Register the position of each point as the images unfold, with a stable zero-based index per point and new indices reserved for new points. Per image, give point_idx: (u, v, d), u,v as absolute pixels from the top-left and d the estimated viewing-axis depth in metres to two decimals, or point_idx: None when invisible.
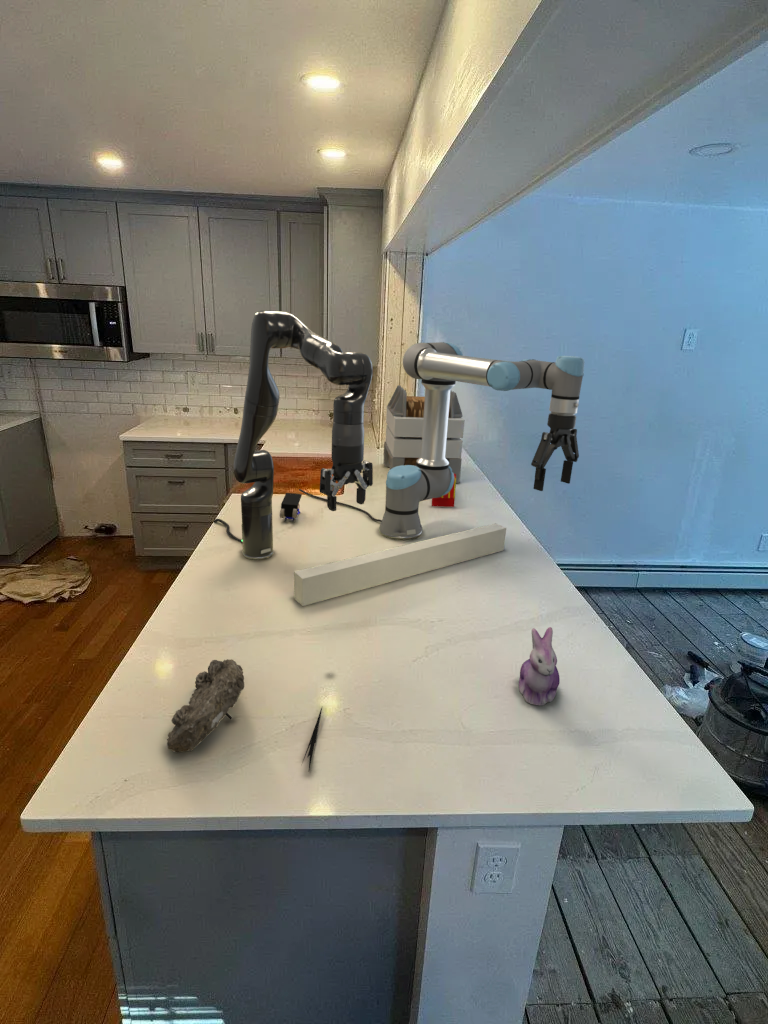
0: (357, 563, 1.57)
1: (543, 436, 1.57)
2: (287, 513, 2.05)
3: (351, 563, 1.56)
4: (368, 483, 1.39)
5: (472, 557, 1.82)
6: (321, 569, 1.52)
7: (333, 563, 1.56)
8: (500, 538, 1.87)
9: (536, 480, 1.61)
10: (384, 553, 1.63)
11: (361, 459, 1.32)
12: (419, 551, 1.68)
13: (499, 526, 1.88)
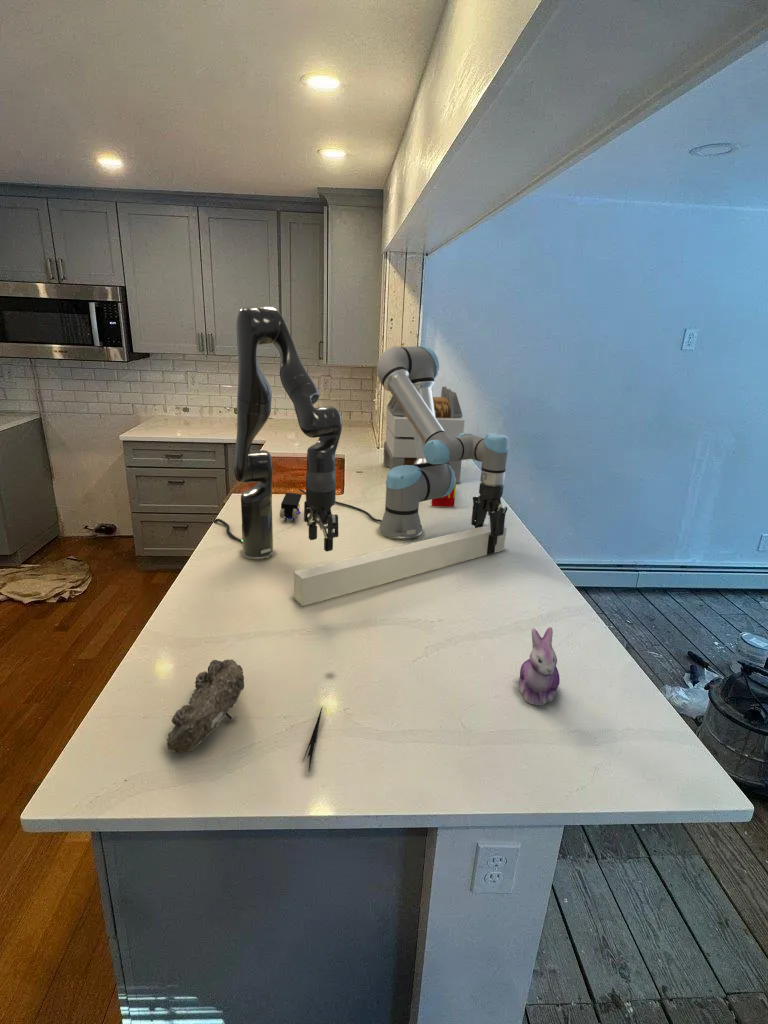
0: (357, 563, 1.57)
1: None
2: (287, 513, 2.05)
3: (351, 563, 1.56)
4: None
5: (472, 557, 1.82)
6: (321, 569, 1.52)
7: (333, 563, 1.56)
8: (500, 538, 1.87)
9: None
10: (384, 553, 1.63)
11: None
12: (419, 551, 1.68)
13: None
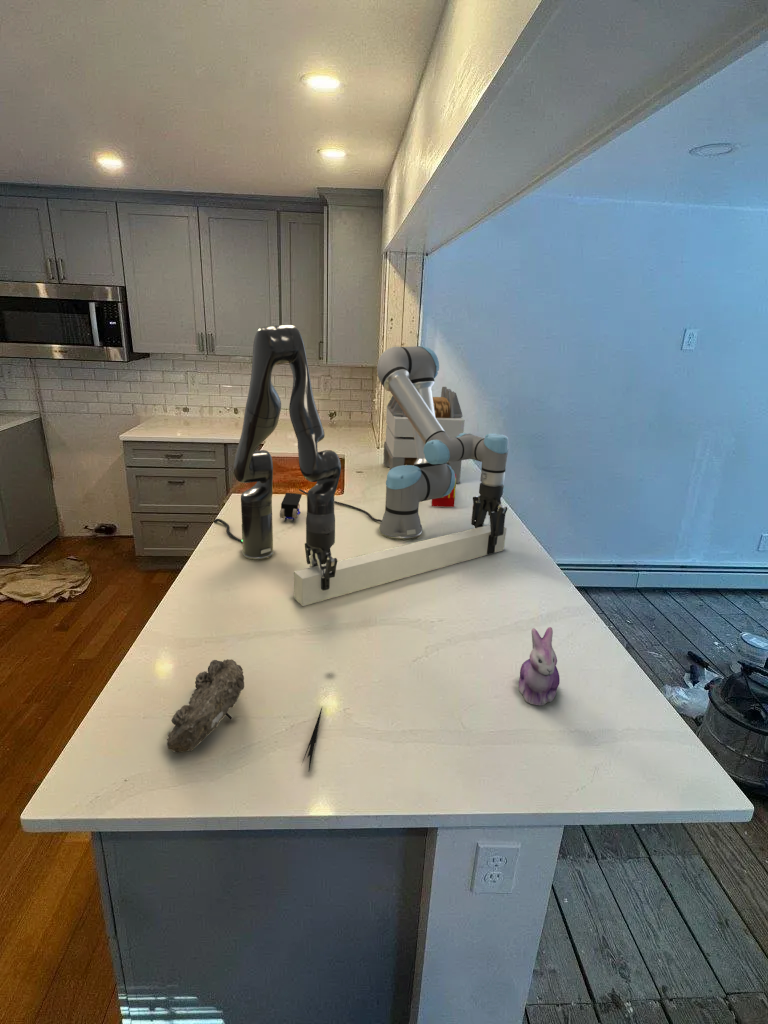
0: (357, 563, 1.57)
1: None
2: (287, 513, 2.05)
3: (351, 563, 1.56)
4: None
5: (472, 557, 1.82)
6: None
7: None
8: (500, 538, 1.87)
9: None
10: (384, 553, 1.63)
11: None
12: (419, 551, 1.68)
13: None
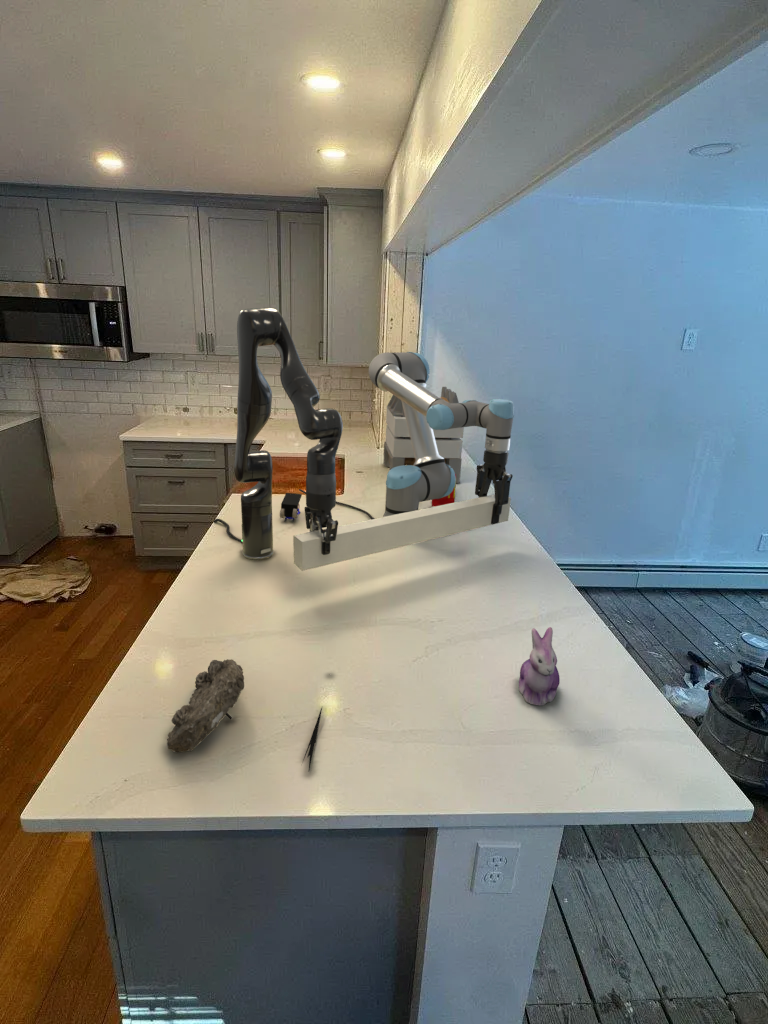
0: (359, 528, 1.52)
1: None
2: (287, 513, 2.05)
3: (353, 528, 1.51)
4: None
5: (476, 527, 1.77)
6: None
7: None
8: (505, 508, 1.83)
9: None
10: (386, 519, 1.59)
11: None
12: (422, 517, 1.63)
13: None
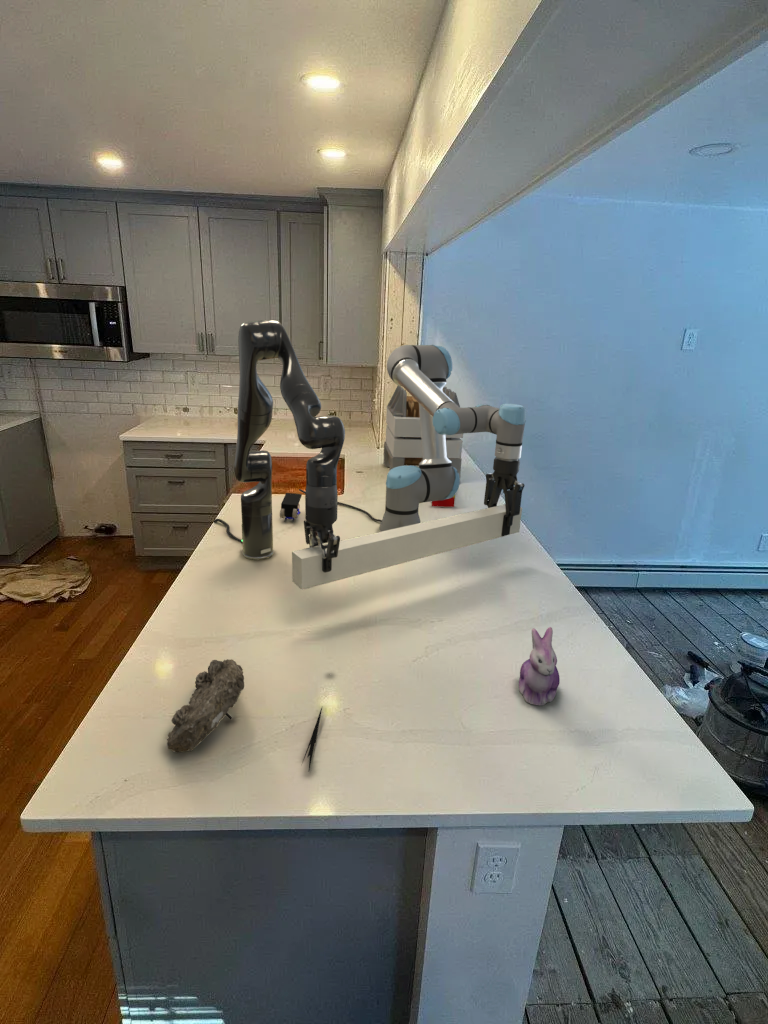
0: (362, 543, 1.42)
1: None
2: (287, 513, 2.05)
3: (355, 543, 1.41)
4: None
5: (486, 539, 1.67)
6: None
7: None
8: (516, 518, 1.73)
9: None
10: (391, 533, 1.49)
11: None
12: (429, 530, 1.53)
13: None
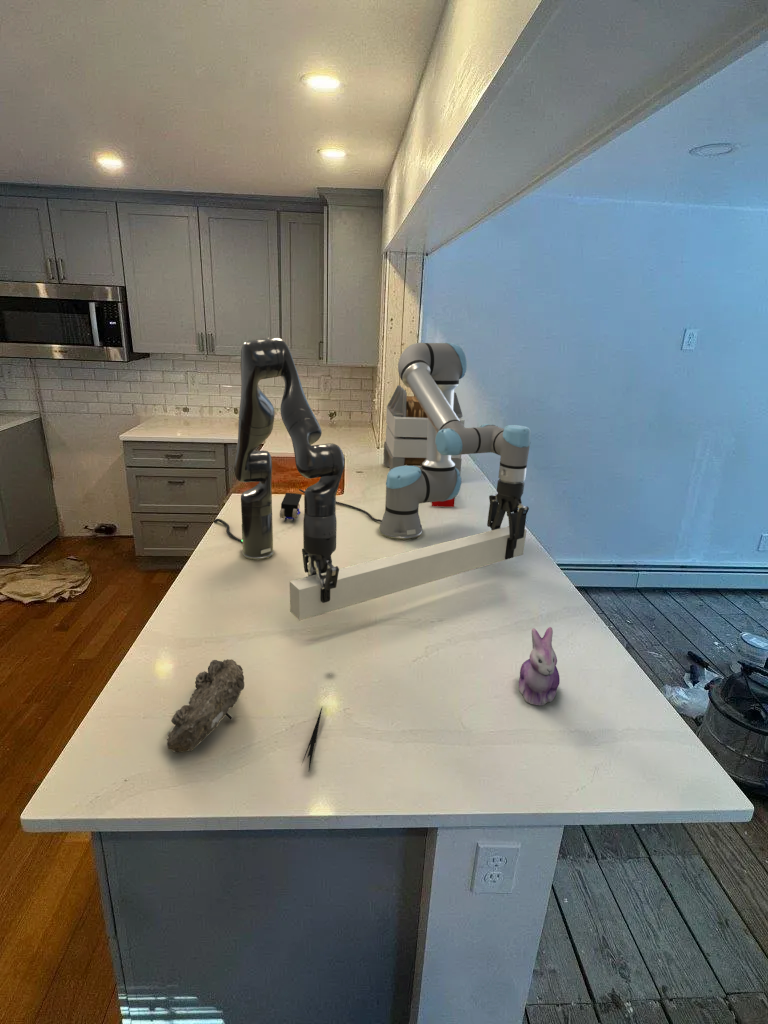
0: (362, 571, 1.38)
1: None
2: (287, 513, 2.05)
3: (355, 571, 1.38)
4: None
5: (489, 563, 1.64)
6: None
7: None
8: (520, 541, 1.69)
9: None
10: (392, 560, 1.45)
11: None
12: (431, 556, 1.49)
13: None
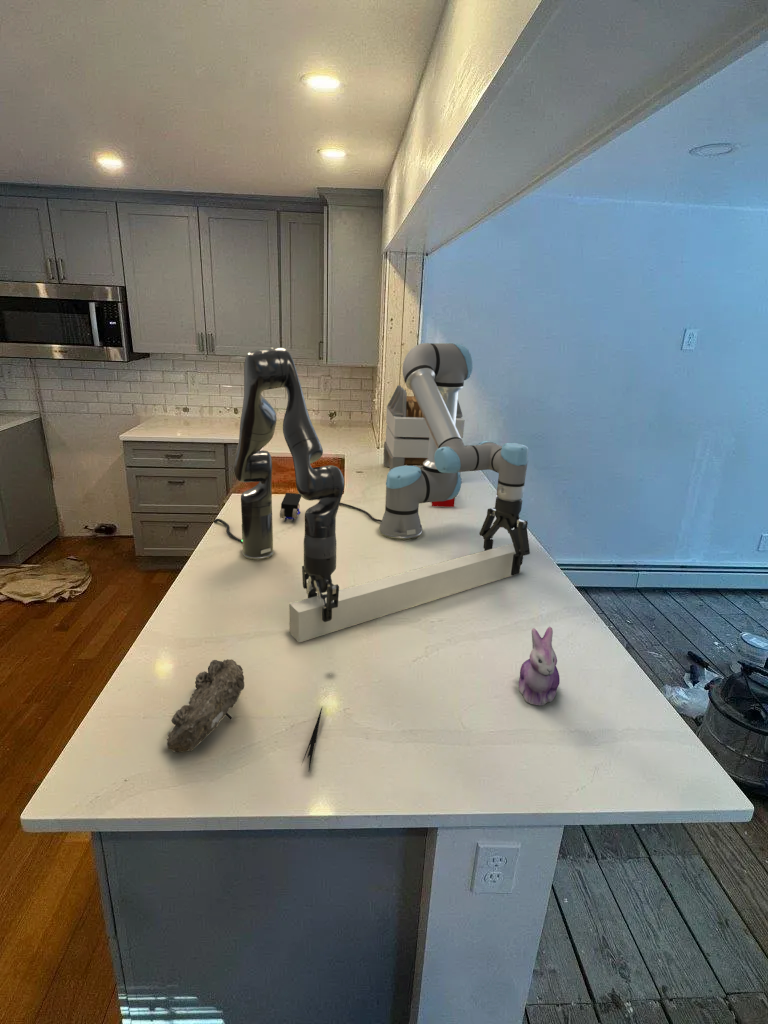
0: (360, 592, 1.40)
1: None
2: (287, 513, 2.05)
3: (354, 593, 1.40)
4: None
5: (486, 582, 1.66)
6: (320, 600, 1.36)
7: None
8: None
9: None
10: (390, 581, 1.47)
11: None
12: (429, 577, 1.51)
13: None
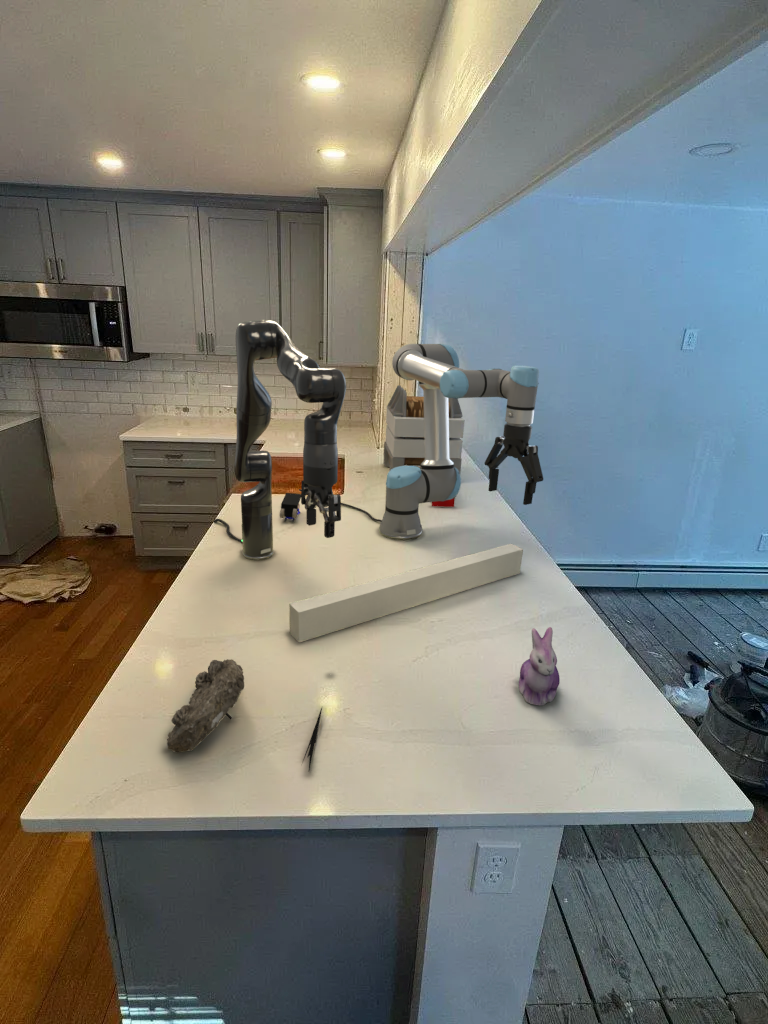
0: (360, 592, 1.40)
1: None
2: (287, 513, 2.05)
3: (354, 593, 1.40)
4: None
5: (486, 582, 1.66)
6: (320, 600, 1.36)
7: (333, 593, 1.40)
8: (516, 560, 1.71)
9: None
10: (390, 581, 1.47)
11: None
12: (429, 577, 1.51)
13: (515, 547, 1.72)
